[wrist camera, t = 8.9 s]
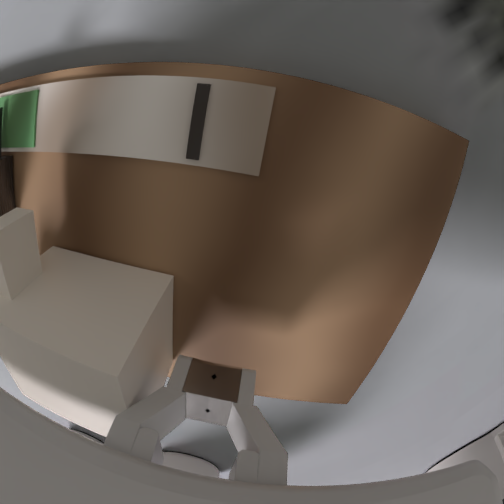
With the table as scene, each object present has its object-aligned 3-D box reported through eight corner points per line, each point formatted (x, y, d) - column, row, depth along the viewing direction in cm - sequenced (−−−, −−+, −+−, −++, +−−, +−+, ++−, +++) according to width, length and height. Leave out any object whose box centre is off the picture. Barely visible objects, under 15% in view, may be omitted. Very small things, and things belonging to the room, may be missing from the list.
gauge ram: (177, 212, 9) (101, 298, 5) (172, 361, 13) (141, 449, 8) (19, 188, 9) (-63, 233, 5) (45, 318, 13) (-3, 377, 8)
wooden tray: (448, 136, 9) (473, 141, 7) (343, 383, 15) (347, 408, 13) (-32, 99, 8) (-51, 103, 7) (-11, 286, 15) (-24, 299, 13)
